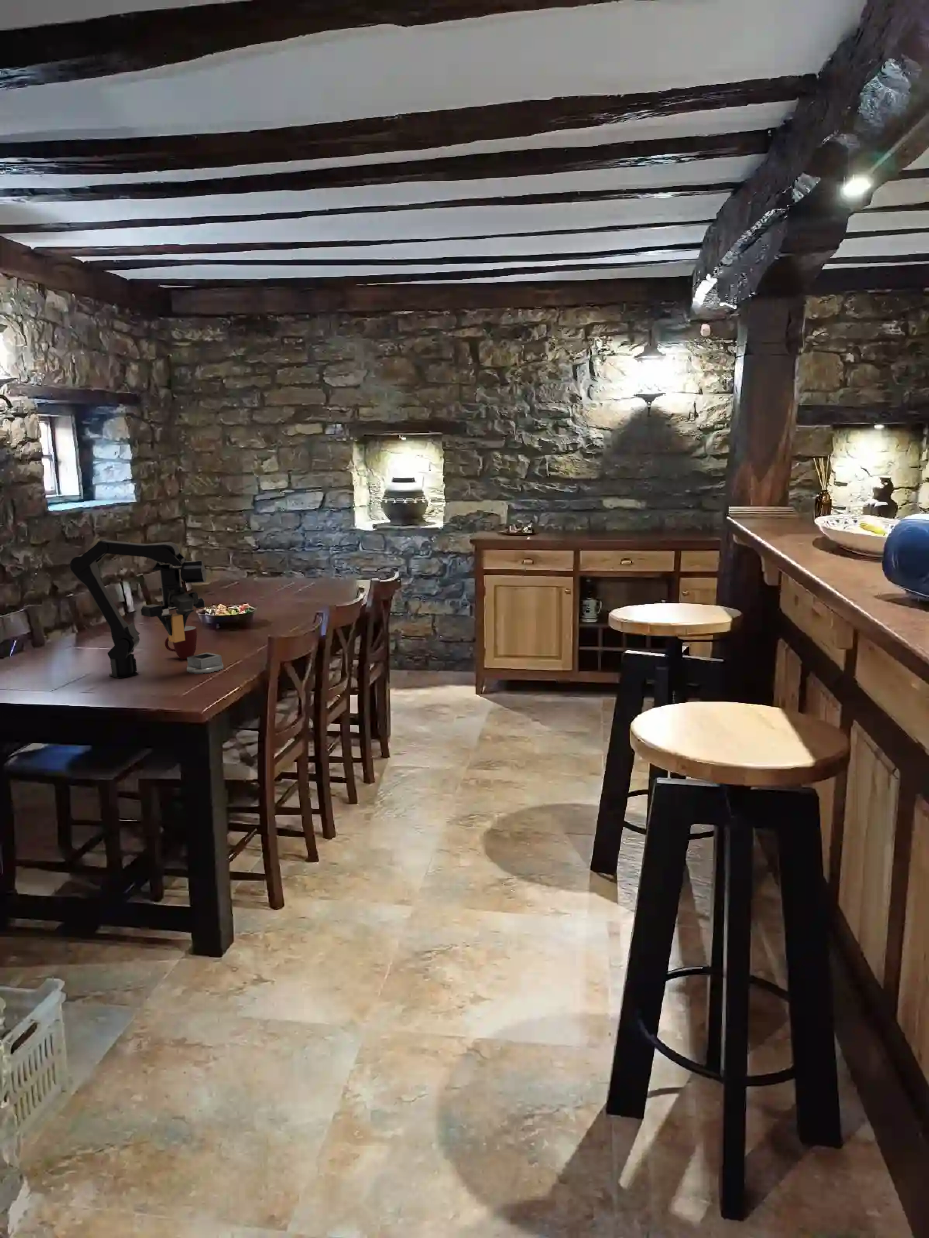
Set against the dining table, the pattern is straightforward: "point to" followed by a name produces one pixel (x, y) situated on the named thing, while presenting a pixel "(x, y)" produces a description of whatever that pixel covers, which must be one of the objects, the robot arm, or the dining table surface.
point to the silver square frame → (204, 663)
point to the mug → (185, 643)
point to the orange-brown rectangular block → (177, 628)
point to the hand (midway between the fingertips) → (176, 634)
